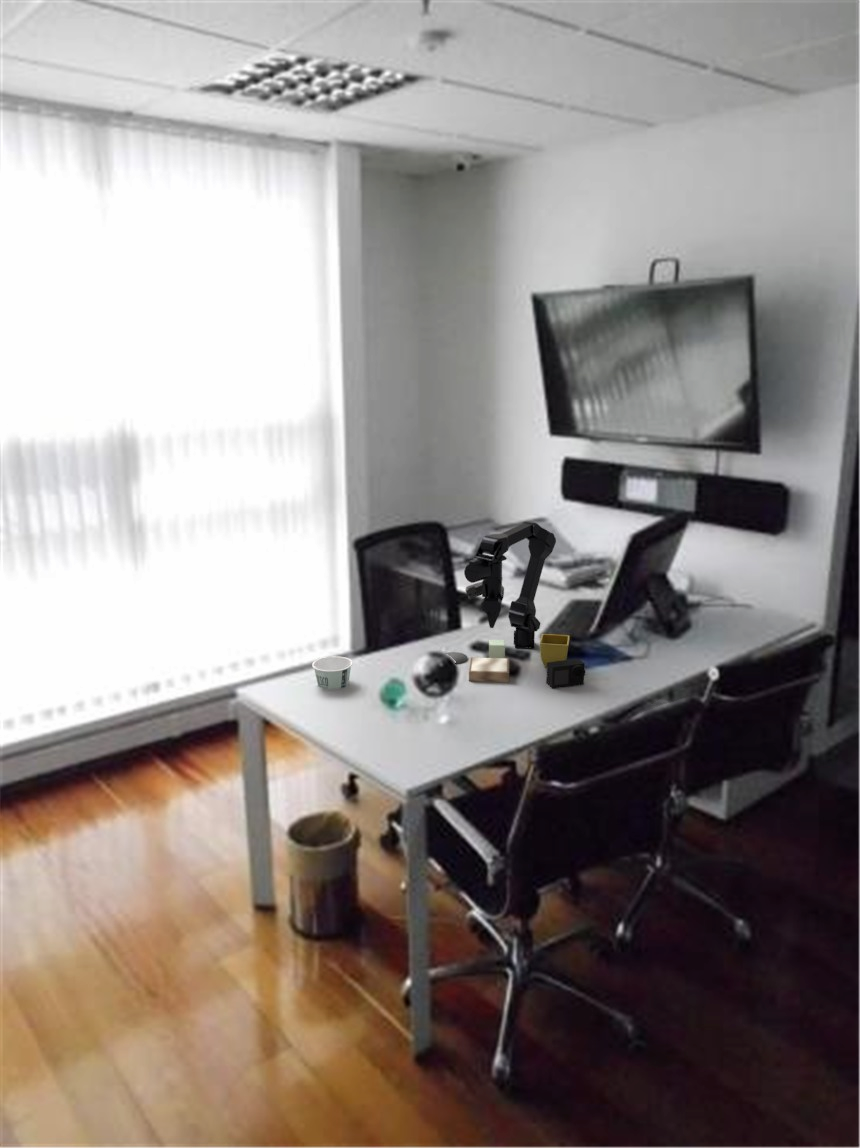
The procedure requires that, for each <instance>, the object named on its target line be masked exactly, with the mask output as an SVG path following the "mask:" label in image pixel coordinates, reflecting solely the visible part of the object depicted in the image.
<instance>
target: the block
mask: <svg viewBox="0 0 860 1148" xmlns="http://www.w3.org/2000/svg"><path fill="white" fill-rule="evenodd" d="M488 658H506V640H504V639H489V641H488Z"/></svg>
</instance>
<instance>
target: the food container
mask: <svg viewBox="0 0 860 1148" xmlns="http://www.w3.org/2000/svg"><path fill="white" fill-rule="evenodd" d="M352 666H353V660H352V659H350V658H348V657H345V656H339V655H338V656H335V655H333V656H324V657H321V658H318V659H316V660H314V661H313V662H312V664H311V667H312V668H313V669H314V673H315V677H316V681H317V686H318V687H319V688H320V689H322V690H341V689H343V688H346V687H347V686H348V685H349V683H350V675H351V669H352Z"/></svg>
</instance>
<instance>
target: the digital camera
mask: <svg viewBox="0 0 860 1148" xmlns="http://www.w3.org/2000/svg"><path fill="white" fill-rule="evenodd" d="M585 666H586V663H585V662H584V661H582V660H581V658H573V659H566V660H563V661H555V662H547V668H546V685H547V686H548V687H549V688H551V689H552V690H553V689H562V688H569V687H577V686H578V687H579V686H584V685H585V675H586V667H585Z"/></svg>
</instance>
